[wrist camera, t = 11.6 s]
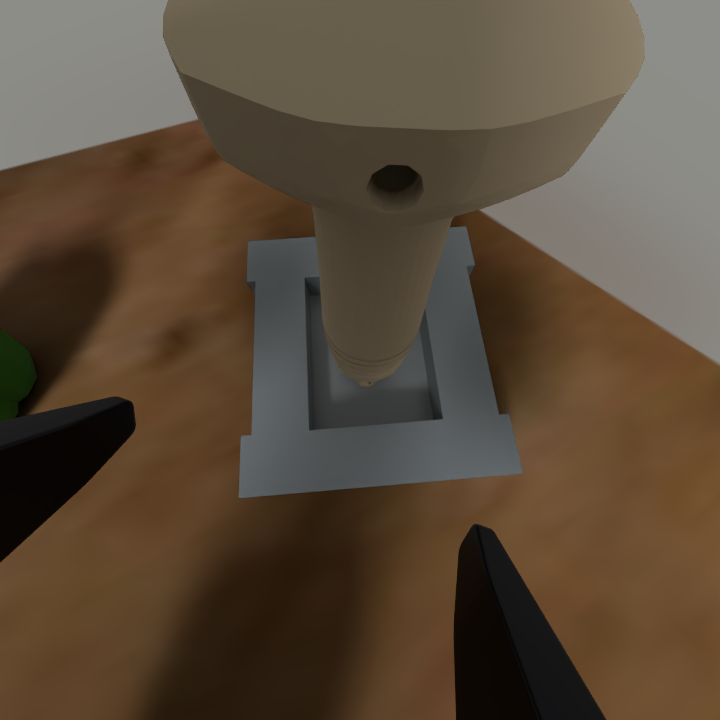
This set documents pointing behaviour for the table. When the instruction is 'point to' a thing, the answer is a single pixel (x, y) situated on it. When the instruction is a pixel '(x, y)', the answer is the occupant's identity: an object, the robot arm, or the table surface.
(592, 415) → the table surface
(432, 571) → the table surface
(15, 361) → the bell pepper
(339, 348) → the handle
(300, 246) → the block
